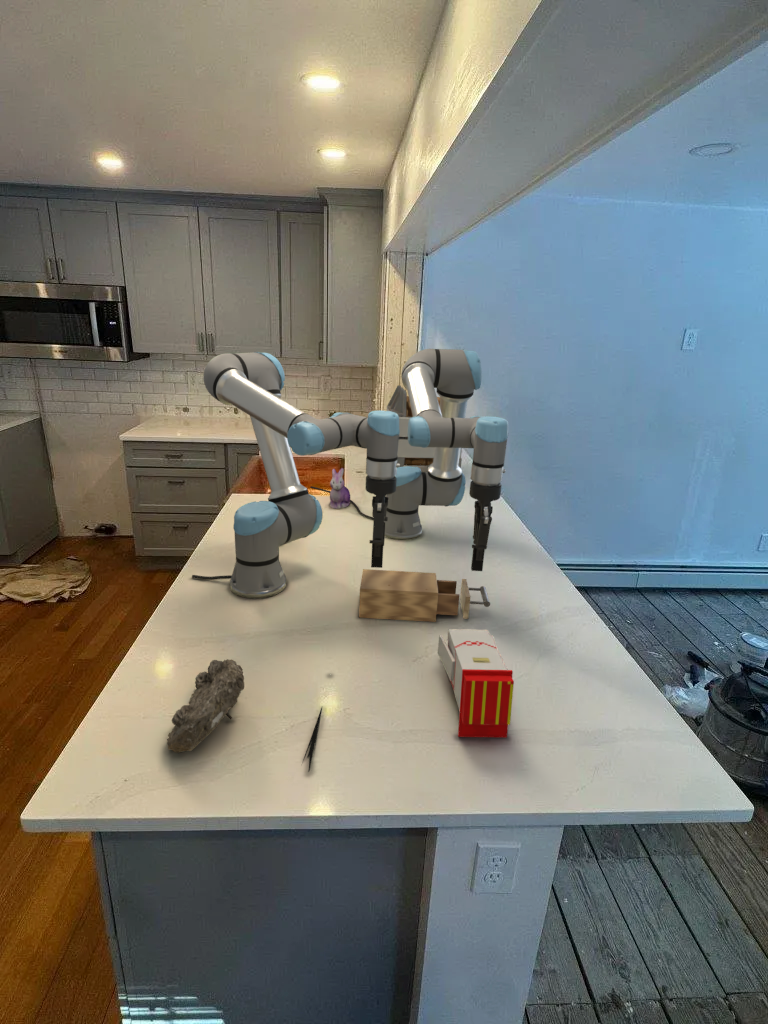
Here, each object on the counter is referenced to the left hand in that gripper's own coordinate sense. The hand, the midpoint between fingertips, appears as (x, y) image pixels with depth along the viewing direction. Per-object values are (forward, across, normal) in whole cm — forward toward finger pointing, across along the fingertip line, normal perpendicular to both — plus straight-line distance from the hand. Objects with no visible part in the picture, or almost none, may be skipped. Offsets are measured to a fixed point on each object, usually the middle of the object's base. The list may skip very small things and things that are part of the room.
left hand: (377, 555), depth 145 cm
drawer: (+14, 0, -17) cm, 22 cm away
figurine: (+15, +80, +18) cm, 83 cm away
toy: (+15, -33, -21) cm, 42 cm away
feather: (+15, -44, +9) cm, 48 cm away
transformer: (+15, +133, -15) cm, 135 cm away
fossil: (+15, -45, +29) cm, 56 cm away
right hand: (+2, 0, -26) cm, 26 cm away
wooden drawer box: (+15, 0, -6) cm, 16 cm away
